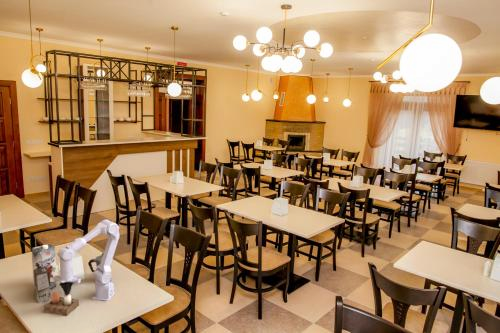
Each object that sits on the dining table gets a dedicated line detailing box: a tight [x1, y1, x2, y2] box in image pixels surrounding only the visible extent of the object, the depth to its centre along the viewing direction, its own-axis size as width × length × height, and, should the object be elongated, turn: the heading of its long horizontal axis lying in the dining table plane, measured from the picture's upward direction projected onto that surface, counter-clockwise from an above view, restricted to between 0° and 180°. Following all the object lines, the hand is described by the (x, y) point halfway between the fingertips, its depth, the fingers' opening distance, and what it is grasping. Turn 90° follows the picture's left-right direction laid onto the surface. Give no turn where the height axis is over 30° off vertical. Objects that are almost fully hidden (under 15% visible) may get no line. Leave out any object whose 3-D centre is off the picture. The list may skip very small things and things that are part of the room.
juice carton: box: [31, 243, 57, 290], centre depth 202 cm, size 9×10×27 cm
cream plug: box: [63, 293, 72, 306], centre depth 184 cm, size 3×3×5 cm
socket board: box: [43, 296, 80, 317], centre depth 185 cm, size 13×10×4 cm
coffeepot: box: [87, 252, 115, 282], centre depth 215 cm, size 15×9×18 cm, turn 129°
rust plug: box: [51, 291, 60, 304], centre depth 185 cm, size 3×3×5 cm
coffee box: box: [32, 267, 52, 304], centre depth 194 cm, size 9×6×16 cm
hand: (67, 294), depth 183 cm, fingers closed
